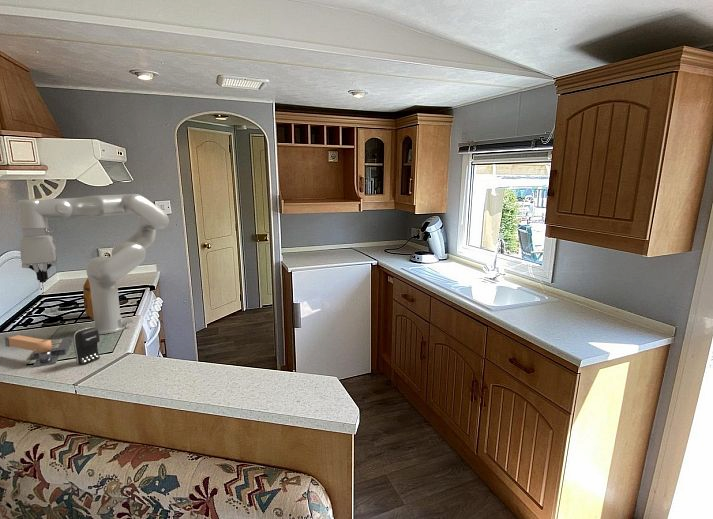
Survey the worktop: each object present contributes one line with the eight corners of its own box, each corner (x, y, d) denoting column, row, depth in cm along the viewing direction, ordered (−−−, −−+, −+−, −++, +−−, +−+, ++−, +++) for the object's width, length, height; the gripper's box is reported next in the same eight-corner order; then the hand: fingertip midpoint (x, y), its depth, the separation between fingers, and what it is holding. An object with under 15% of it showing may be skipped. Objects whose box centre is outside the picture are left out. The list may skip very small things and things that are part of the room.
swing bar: (18, 342, 137) (16, 333, 137) (55, 349, 130) (53, 339, 130) (4, 346, 134) (3, 337, 133) (42, 353, 127) (40, 343, 126)
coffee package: (88, 321, 177) (82, 274, 174) (84, 315, 186) (78, 271, 183) (113, 316, 184) (108, 271, 180) (108, 311, 193) (103, 268, 190)
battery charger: (83, 366, 126) (79, 333, 124) (75, 365, 127) (71, 332, 126) (103, 358, 133) (100, 326, 131) (95, 357, 134) (92, 325, 132)
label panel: (72, 341, 150) (71, 336, 149) (65, 354, 137) (64, 348, 136) (43, 345, 145) (42, 340, 145) (33, 359, 132) (32, 353, 132)
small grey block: (59, 357, 134) (57, 346, 133) (55, 363, 129) (54, 352, 128) (37, 361, 131) (35, 350, 130) (32, 367, 126) (31, 355, 125)
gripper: (62, 231, 148) (68, 277, 151) (11, 234, 140) (19, 282, 143) (59, 232, 142) (66, 280, 144) (6, 235, 134) (14, 286, 137)
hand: (43, 281), depth 144 cm, fingers closed
